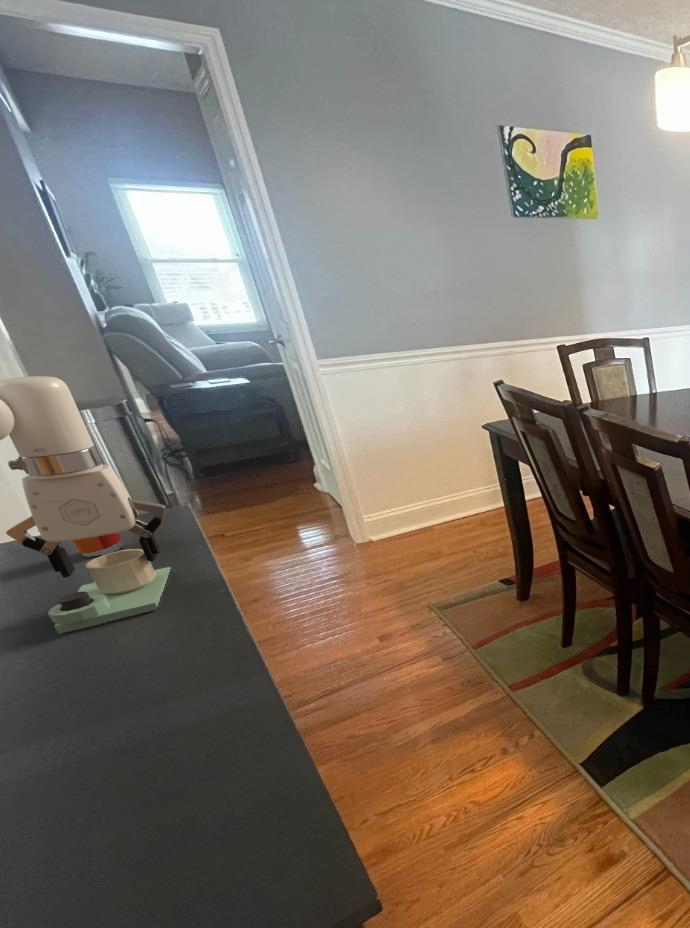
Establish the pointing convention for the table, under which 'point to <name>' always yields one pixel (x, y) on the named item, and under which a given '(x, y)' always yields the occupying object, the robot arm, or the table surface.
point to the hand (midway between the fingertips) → (112, 566)
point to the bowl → (121, 571)
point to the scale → (109, 605)
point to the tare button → (75, 601)
